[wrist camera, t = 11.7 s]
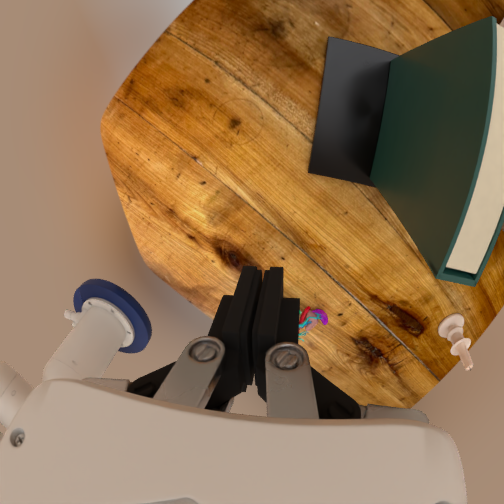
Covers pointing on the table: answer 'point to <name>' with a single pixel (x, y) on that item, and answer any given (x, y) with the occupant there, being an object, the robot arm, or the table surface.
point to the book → (447, 148)
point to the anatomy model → (311, 319)
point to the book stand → (350, 111)
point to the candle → (456, 338)
